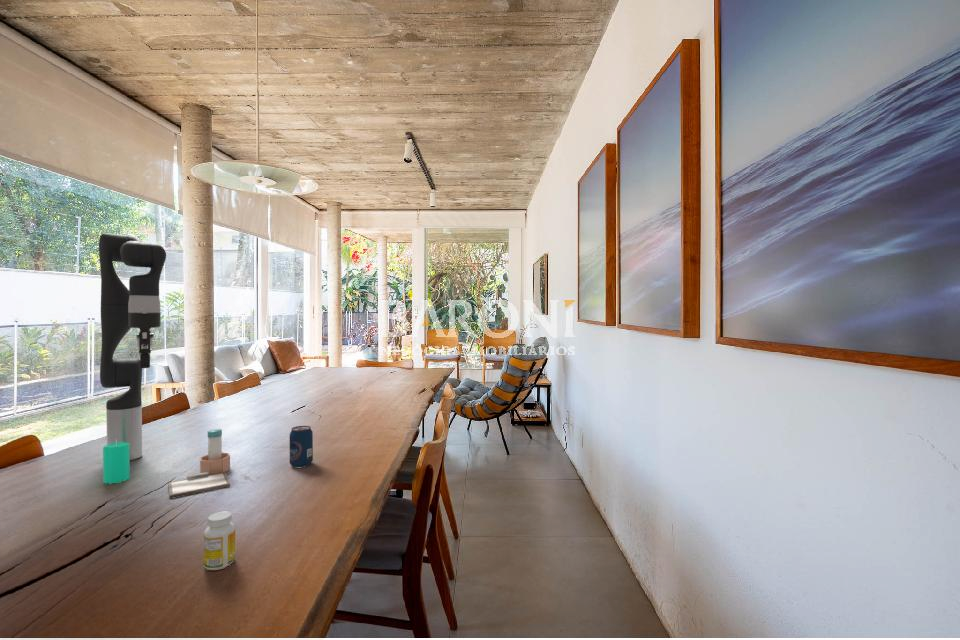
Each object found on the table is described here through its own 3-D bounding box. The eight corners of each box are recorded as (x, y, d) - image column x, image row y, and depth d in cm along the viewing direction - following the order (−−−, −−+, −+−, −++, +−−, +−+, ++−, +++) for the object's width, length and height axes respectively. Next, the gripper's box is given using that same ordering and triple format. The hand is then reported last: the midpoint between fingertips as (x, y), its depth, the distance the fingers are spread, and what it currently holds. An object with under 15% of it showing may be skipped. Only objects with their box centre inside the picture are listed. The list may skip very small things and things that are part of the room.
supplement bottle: (209, 575, 83) (209, 525, 83) (199, 565, 87) (199, 516, 87) (240, 563, 88) (239, 515, 87) (229, 553, 91) (228, 507, 91)
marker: (207, 468, 138) (207, 430, 138) (221, 466, 140) (221, 428, 140) (208, 472, 135) (208, 433, 135) (222, 469, 137) (222, 431, 137)
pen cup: (199, 469, 138) (199, 455, 138) (227, 464, 143) (227, 451, 143) (201, 477, 132) (201, 462, 132) (231, 471, 137) (231, 457, 137)
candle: (114, 485, 126) (114, 443, 126) (97, 483, 127) (97, 441, 127) (135, 477, 132) (134, 437, 132) (118, 475, 133) (118, 435, 133)
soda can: (284, 466, 141) (284, 429, 141) (301, 460, 148) (300, 424, 148) (301, 470, 139) (301, 431, 138) (317, 463, 145) (317, 426, 145)
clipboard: (168, 485, 126) (168, 479, 126) (224, 474, 134) (224, 468, 134) (169, 498, 117) (169, 491, 117) (229, 486, 126) (229, 480, 126)
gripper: (129, 311, 134) (130, 364, 134) (127, 311, 123) (128, 370, 123) (160, 311, 138) (160, 363, 139) (160, 311, 127) (161, 368, 127)
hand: (145, 366), depth 131 cm, fingers open, 8 cm apart
